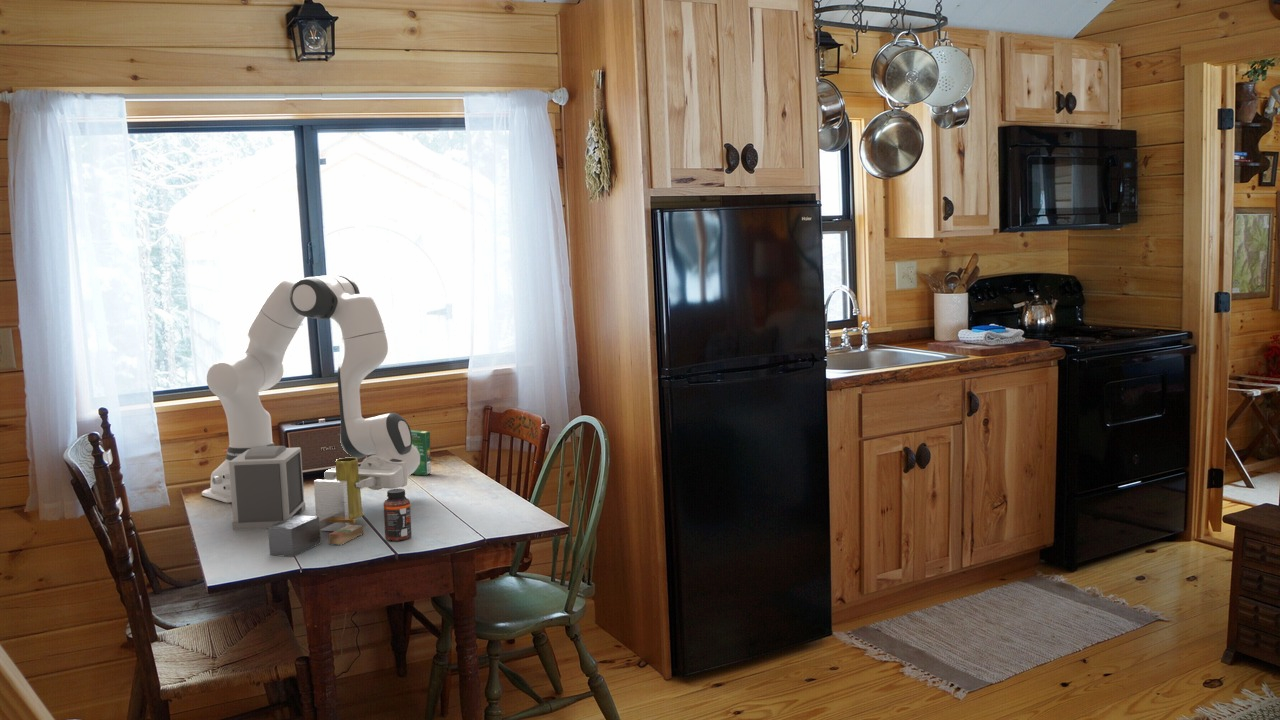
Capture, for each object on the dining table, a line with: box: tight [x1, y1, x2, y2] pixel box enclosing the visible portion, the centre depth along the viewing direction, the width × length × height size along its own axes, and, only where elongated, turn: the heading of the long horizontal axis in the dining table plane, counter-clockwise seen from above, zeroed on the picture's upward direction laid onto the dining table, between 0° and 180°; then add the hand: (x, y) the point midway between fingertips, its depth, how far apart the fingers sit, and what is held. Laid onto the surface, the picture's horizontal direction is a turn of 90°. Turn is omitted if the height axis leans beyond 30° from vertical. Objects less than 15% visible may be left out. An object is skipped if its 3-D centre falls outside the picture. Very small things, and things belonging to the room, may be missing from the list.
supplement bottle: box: [383, 488, 412, 542], centre depth 231 cm, size 6×6×11 cm
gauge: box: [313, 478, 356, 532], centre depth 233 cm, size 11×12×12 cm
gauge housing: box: [267, 514, 321, 557], centre depth 225 cm, size 6×10×6 cm, turn 162°
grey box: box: [229, 445, 306, 531], centre depth 251 cm, size 18×13×18 cm
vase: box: [335, 457, 364, 520], centre depth 245 cm, size 6×6×14 cm
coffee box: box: [410, 429, 432, 476], centre depth 296 cm, size 8×3×13 cm, turn 71°
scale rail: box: [328, 524, 364, 546], centre depth 232 cm, size 3×9×2 cm, turn 162°
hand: (346, 484), depth 244 cm, fingers closed on vase, 5 cm apart
